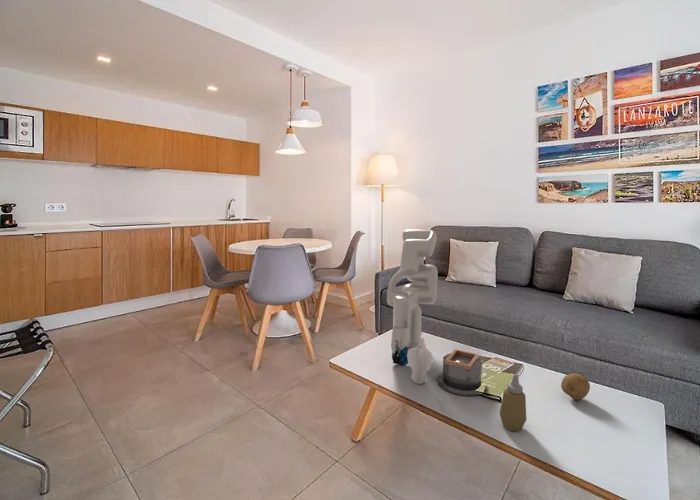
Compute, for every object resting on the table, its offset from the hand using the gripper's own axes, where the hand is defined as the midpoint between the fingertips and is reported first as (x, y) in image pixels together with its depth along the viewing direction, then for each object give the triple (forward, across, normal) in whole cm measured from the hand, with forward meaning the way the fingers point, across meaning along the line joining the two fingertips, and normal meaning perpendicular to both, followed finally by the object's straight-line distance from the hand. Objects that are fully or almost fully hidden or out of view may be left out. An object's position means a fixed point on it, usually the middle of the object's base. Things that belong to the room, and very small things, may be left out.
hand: (400, 359), depth 162 cm
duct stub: (+3, +2, +28) cm, 28 cm away
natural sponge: (+3, -10, +67) cm, 68 cm away
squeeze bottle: (+3, +21, +50) cm, 54 cm away
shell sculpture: (+3, +10, +13) cm, 16 cm away
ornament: (+3, 0, 0) cm, 3 cm away
